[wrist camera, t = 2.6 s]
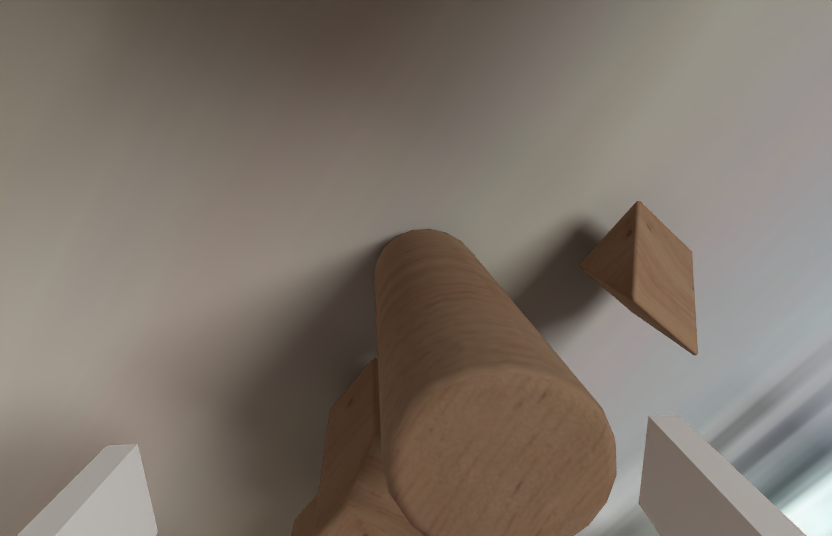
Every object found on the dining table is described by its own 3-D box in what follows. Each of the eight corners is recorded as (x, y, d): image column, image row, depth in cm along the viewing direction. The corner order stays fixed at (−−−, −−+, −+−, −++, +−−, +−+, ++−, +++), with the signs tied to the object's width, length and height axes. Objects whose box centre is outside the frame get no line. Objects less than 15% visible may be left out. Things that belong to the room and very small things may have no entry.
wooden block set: (385, 534, 21) (399, 895, 11) (221, 448, 18) (55, 809, 9) (660, 240, 18) (1024, 378, 8) (505, 92, 15) (747, 28, 6)
